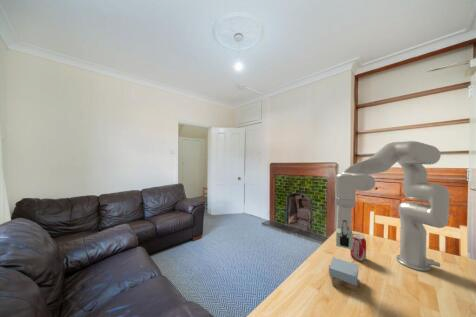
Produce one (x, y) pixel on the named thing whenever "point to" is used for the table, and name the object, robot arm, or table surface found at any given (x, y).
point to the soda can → (358, 247)
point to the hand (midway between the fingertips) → (344, 242)
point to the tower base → (345, 284)
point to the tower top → (344, 270)
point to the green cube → (350, 235)
